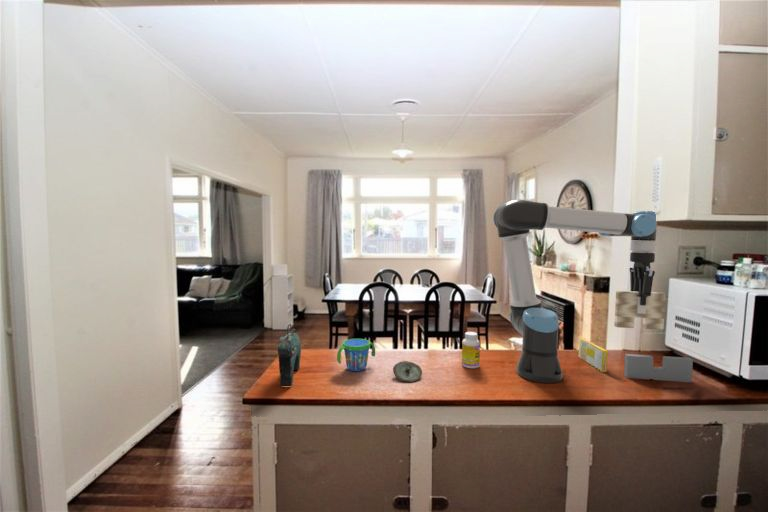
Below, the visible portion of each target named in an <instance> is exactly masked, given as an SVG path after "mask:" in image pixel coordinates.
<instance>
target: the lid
mask: <svg viewBox="0 0 768 512" xmlns="http://www.w3.org/2000/svg"><path fill="white" fill-rule="evenodd" d="M392 372H393V375H394V376H395V378H396V379H398V380H399V381H401V382H405V383H414V382H417V381H418V380H420V379H421V377H422V375H423V369H422V368H421V367H420V366H419V365H418V364H417V363H414V362H412V361H407V360H404V361H399V362H397V363H396V364H395V365H394V366H393V368H392Z"/></svg>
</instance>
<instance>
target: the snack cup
mask: <svg viewBox="0 0 768 512" xmlns="http://www.w3.org/2000/svg"><path fill="white" fill-rule="evenodd" d="M370 348H371V351H370V353H371V354H370V355H371V356H372V357H375V356H376V346H375V345H374V344H373V342H371V341H370V340H368V339H365V338H350V339H349V338H348V339H346V340H344V341H343V342H342V345H341V346H340V347H339V349H338V350H337V353H336V360H337V363H338V364H341V363H342V361H341V360H342V359H341V358H342V357H341V356H342V351H344V357H345V363H346V365H345V366H346V369H347V370H349V371H352V372H361V371H363V370H364V369H365V370H366V369H367V365H368V359H369V350H370Z"/></svg>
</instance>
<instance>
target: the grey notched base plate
mask: <svg viewBox="0 0 768 512" xmlns="http://www.w3.org/2000/svg"><path fill="white" fill-rule="evenodd" d="M693 363H694V359H692V358H691V357H681V356H666V355H665V356H663V355H662V366H654V357H653V356H652V355H650V354H649V355H648V354H634V353H633V354H632V353H630V354H629V353H625V354H624V370H623V373H624V374H623V376H624V377H625V376H626V377H627V379H636V380H637V379H639V380H650V379H653V380H654V381H666V382H682V383H692V382H693V368H694V367H693V365H694V364H693ZM626 377H625V378H626ZM653 380H652V381H653Z"/></svg>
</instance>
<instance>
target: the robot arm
mask: <svg viewBox="0 0 768 512" xmlns="http://www.w3.org/2000/svg"><path fill="white" fill-rule="evenodd" d="M655 212H656V211H654V212H653V210H646V211H642V210H641V211H634V212H632V213H622V212H614V211H602V210H592V209H580V208H571V207H570V208H569V207H558V206H550V205H549V204H548V203H545V202H537V201H533V200H532V201H531V200H525V199H513V200H510V201H507V202H504V203H502V204H500V205H499V206H498V207H497V208H496V210H495V212H494V214H493V223H494V226H495V227H496V228H497V235H498V238H499V239H500V240H501V241H502V242H503V244H504V245H503V247H504V252H505V258H506V263H507V270H508V275H509V283H510V289H511V293H512V300H511V302H510V303H509V306H510V313H509V314H510V315H509V320H510V323H511V326H512V327H513V328H514V330H516V331H517V332H518V333H519V334H520V335H521V336H522V351H521V354H520V357H519V359H518V362H517V364H516V373H517V375H518V376H520V377H522V378H524V379H526V380H529V381H532V382H535V383H544V384H555V383H558V382H561V381H562V380H563V370H562V367H561V363H560V360H559V357H558V345H559V327H560V323H559V316H558V314H557V313H556V312H554V311H553V310H551V309H547V308H543V306H542V300H541V299H539V298H538V297H537V294H536V289H535V283H534V275H533V270H532V265H531V258H530V253H529V247H528V246H529V245H528V239H527V238H528V236H529V235H530V232H531V231H530V230H534V231H535V230H538V231H543V230H544V229H555V230H567V231H577V232H578V231H579V232H587V233H588V232H589V233H598V234H599V235H600V236H602V237H630V249H629V250H630V251H631V252H630V253H629V254H630V255H629V261H630V262H631V263H633V266H632V267H630V268H629V273H630V274H629V276H630V277H629V278H630V279H629V281H630V283H629V284H630V291H634V292H639V295H637V313H639V314H646V298H647V297H648V296H651V292H652V289H653V281H654V276H655V273H656V272H655V270H651V263H655V259H656V254H655V251H656V246H657V243H656V240H657V239H656V238H657V225H658V220H657V221H656V214H657V213H656V214H655Z"/></svg>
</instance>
